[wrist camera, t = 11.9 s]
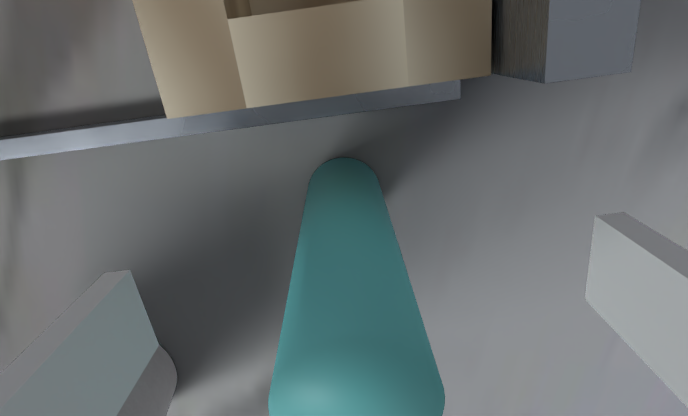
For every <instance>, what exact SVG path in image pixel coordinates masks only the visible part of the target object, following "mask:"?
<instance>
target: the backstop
mask: <svg viewBox="0 0 688 416" xmlns="http://www.w3.org/2000/svg"><path fill="white" fill-rule="evenodd" d="M640 4H641V0H492V31H491V73H492V74H497V75H502V76H507V77H513V78H518V79H523V80H529V81H534V82H539V83H544V84H545V83H552V82H560V81H567V80H575V79H582V78H590V77H597V76H604V75H612V74H619V73H627V72H631V69H632V62H633V55H634V47H635V40H636V33H637V26H638V19H639V11H640ZM455 99H461V89H460V80H453V81H446V82H438V83H431V84H423V85H416V86H409V87H401V88H394V89H386V90H379V91H372V92H364V93H357V94H349V95H342V96H335V97H327V98H320V99H312V100H305V101H298V102H290V103H283V104H275V105H268V106H260V107H253V108H246V109H238V110H231V111H223V112H216V113H209V114H201V115H194V116H186V117H179V118H172V119H167V117H166V115H160V116H152V117H145V118H137V119H130V120H123V121H115V122H108V123H100V124H93V125H86V126H78V127H71V128H64V129H56V130H49V131H41V132H34V133H27V134H19V135H12V136H4V137H0V160H7V159H14V158H22V157H29V156H36V155H44V154H51V153H59V152H66V151H74V150H81V149H89V148H96V147H104V146H111V145H119V144H126V143H134V142H141V141H149V140H156V139H164V138H171V137H179V136H186V135H194V134H201V133H209V132H216V131H224V130H231V129H239V128H246V127H253V126H261V125H268V124H276V123H283V122H291V121H298V120H306V119H313V118H321V117H328V116H336V115H343V114H351V113H358V112H366V111H373V110H381V109H388V108H396V107H403V106H411V105H418V104H426V103H433V102H441V101H448V100H455Z"/></svg>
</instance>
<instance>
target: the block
mask: <svg viewBox="0 0 688 416" xmlns="http://www.w3.org/2000/svg"><path fill="white" fill-rule="evenodd" d="M132 1H133V5H134V8H135V11H136V15H137V18H138V22H139V25H140V28H141V32H142V35H143V39H144V42H145V45H146V49H147V52H148V56H149V59H150V62H151V66H152V69H153V72H154V76H155V79H156V83H157V86H158V89H159V93H160V96H161V100H162V103H163V106H164V110H165V113H166V117H167V119H172V118H179V117H186V116H194V115H201V114H209V113H216V112H223V111H231V110H238V109H246V108H253V107H260V106H268V105H275V104H283V103H290V102H298V101H305V100H312V99H320V98H327V97H335V96H342V95H349V94H357V93H364V92H372V91H379V90H386V89H394V88H401V87H409V86H416V85H423V84H431V83H438V82H446V81H453V80H460V79H468V78H475V77H483V76H490V75H491V31H492V0H132Z"/></svg>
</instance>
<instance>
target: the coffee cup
mask: <svg viewBox="0 0 688 416" xmlns="http://www.w3.org/2000/svg"><path fill="white" fill-rule="evenodd" d="M176 384H177V372H176V368H175V365H174V363H173V361H172V359H171V357H170V356H169V354H168V353H167V352H166V351H165V350H164V349H163V348H162V347H161V346H160V345H159V346H158V348H157V349H156V351H155V353H154V354H153V356H152V358H151V359H150V361H149V363H148V364H147V366H146V368H145V369H144V371H143V373H142V374H141V376H140V378H139V379H138V381H137V383H136V384H135V386H134V387H133V389H132V391H131V392H130V394H129V396H128V397H127V399H126V401H125V402H124V404H123V406H122V407H121V409H120V411H119V412H118V414H117V416H166V414H167V411H168V409H169V406H170V403H171V400H172V397H173V394H174V391H175V388H176Z"/></svg>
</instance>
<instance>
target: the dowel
mask: <svg viewBox="0 0 688 416" xmlns="http://www.w3.org/2000/svg"><path fill="white" fill-rule="evenodd" d="M444 405H445V394H444V388H443V384H442V381H441V378H440V375H439V372H438V369H437V365H436V362H435V359H434V356H433V353H432V350H431V346H430V343H429V340H428V337H427V334H426V331H425V327H424V324H423V321H422V318H421V315H420V312H419V308H418V305H417V302H416V299H415V296H414V292H413V289H412V286H411V283H410V280H409V277H408V273H407V270H406V267H405V264H404V261H403V258H402V254H401V251H400V248H399V245H398V242H397V239H396V235H395V232H394V229H393V226H392V223H391V220H390V216H389V213H388V210H387V207H386V204H385V201H384V197H383V194H382V191H381V188H380V185H379V182H378V179H377V177H376V175H375V173H374V172H373V171H372V169H371V168H370V167H369V166H367V165H366V164H365V163H363V162H361V161H359V160H356V159H353V158H336V159H332V160H329V161H327V162H325V163H324V164H322V165H321V166H320V167H319V168H318V169H317V170H316V171H315V172H314V174H313V175H312V177H311V179H310V182H309V185H308V191H307V196H306V201H305V207H304V212H303V217H302V223H301V228H300V233H299V239H298V244H297V249H296V255H295V260H294V265H293V271H292V276H291V281H290V286H289V292H288V297H287V302H286V308H285V313H284V318H283V324H282V329H281V334H280V340H279V345H278V350H277V356H276V361H275V366H274V372H273V377H272V382H271V388H270V393H269V399H268V409H269V414H270V416H442V414H443V410H444Z"/></svg>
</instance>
